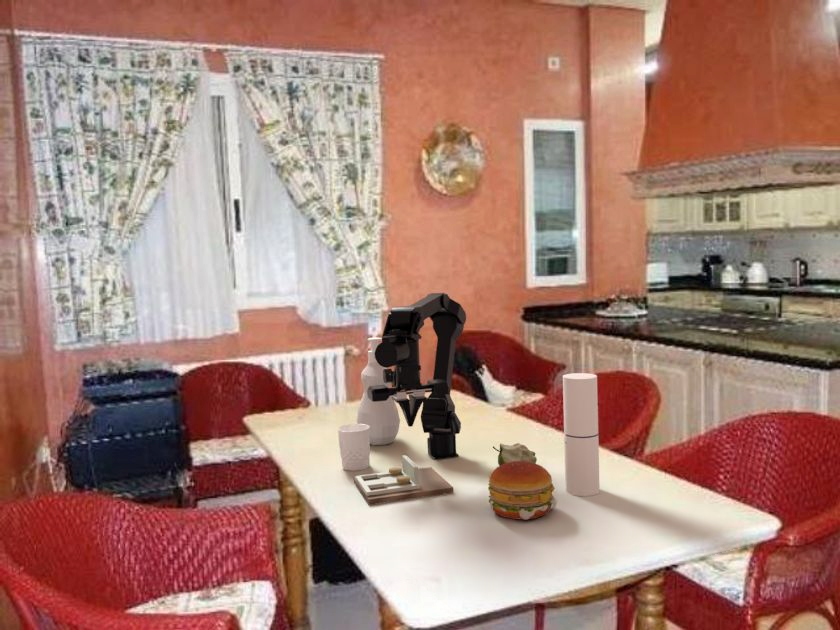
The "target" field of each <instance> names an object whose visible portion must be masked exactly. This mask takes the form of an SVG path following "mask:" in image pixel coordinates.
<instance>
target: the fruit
mask: <svg viewBox="0 0 840 630" xmlns="http://www.w3.org/2000/svg"><path fill="white" fill-rule="evenodd" d="M492 449H494V450H496V451H497V452H499V453H498V455H497V464H498V467H499V466H501V465H503V464H505V463H508V462H513V461H527V462H532V463H535V464H537V461H538V459H537V457H536V452H535V451H532V450H530V449H529V448H528V447H527V446H526V445H524V444H520V442H517V443H513V444H511V445H509V444H504V443H500V444H499V449H498V448H496V447H495V446H492Z"/></svg>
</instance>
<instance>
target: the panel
mask: <svg viewBox="0 0 840 630" xmlns="http://www.w3.org/2000/svg"><path fill="white" fill-rule="evenodd" d="M401 463H402V467H401V468H402V472H401V473H399V475H398V476H393V475H392V474H391V473H389V471H385V472H378V473H377V472H375V473H371V474H362V475H361V474H360V475H355V478H356V481H357V482H358V484H359V485H360V487H361V488H362V490H363V491H364V493H365V494H366V495H367V496H370V495H377V494H384V493H391V492H398V491H405V490H413V489H420V484H419V471H418V469H419V466H418V465H417V464H416V463H415V462H414V461H413V460H412V459H411V458H409V456H407V454H406V455H401ZM399 476H409V477H410V481H409V482H407V485H400V483H399V482H397V477H399ZM370 478H380V479H377V480H369V481H364V480H363V479H370ZM378 487H385V488H387V489H380V490H373V491H371V490H370V489H371V488H378Z"/></svg>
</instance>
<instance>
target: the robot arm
mask: <svg viewBox="0 0 840 630" xmlns="http://www.w3.org/2000/svg"><path fill="white" fill-rule="evenodd" d="M428 318H429V320H431V322H432V329H433V331H434V333H435V335H436V337H437V342H436V349H435V359H434V366H433V367H434V369H433V375H432V376H433V377H432V379H428V380H427V382H426V384H424V383H422V382H421V371H422V365H421V364H420V344H419V342H420V341H419V340H421V339H422V335H421V334H420V330H421V328H423V327H424V326H425V320H426V319H428ZM466 321H467V314H466V311H465V310H464V308H463V306H462V304H460V303H459V302H458V301H455V300H454V299H452V298H451V297H450V296H449V294H448V293H446V292H431V293H429V294H427V295H426V296H425V297H423V298H421V299H420V300H418V301H415V302H413V303H412V304H411V305H404V306H402V305H401V306H394V307H392V308H391V309H390V310H389V313H388V314H387V319H386V322H385V325H384V329H383V333H382V335H381V336H382V337H381V338H382V340H381V342H380V343H379V345H378V346H377V348H376V350H375V359H376V361H377V362H378V364H379V365H381V366H382V367H385V368H387V369H384V370H383V380H384V383H390V386H391V387H390V388H388V387H386V386H385V385H375V386H369V388H368V390H367V394H368V398H369V399H370V400H371V401H372V402H378V401H386V400H387V399H388V398H389V396H392V400H394V402H395V403H397V404H398V405H399V407H400V409H401V411H402V413H403V416H404V419H405V421H406V424H407V426H408V428H409V427H410V428H411V427H413V426H414V423H415V420H416V418H417V416H418V413H419V410H420V408H421V406H422V408H421V409H422V410H421V414H420V422H421V426H422V430H423V433H424V434H428V437H427V439H426V440H427V442H426V443H427V454H428V455H429V456H430V457H432V458H433V460H441V459H442V460H443V459H449V458H456V457H457V458H458V457H459V453H457V441H456V439H457V436H456V435H457V434H458V435H459V434H460V432H461V429H462V423H461V421H460V418H459V417H458V416H457V413H456V406H455V403H454V401H453V399H452V397H451V390H452V382H453V381H452V379H453V371H454V360H455V352H456V344H457V343H456V342H457V340H458V339H459V338H460V336H461V335H462V334H463V332H464V328H465V327H464V326H465V324H466ZM392 367H393V368H394V369H393V370H392ZM426 393H430V394H429V395H428V397H427V396H426ZM407 395H408V397H407Z"/></svg>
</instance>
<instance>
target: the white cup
mask: <svg viewBox="0 0 840 630" xmlns="http://www.w3.org/2000/svg"><path fill="white" fill-rule="evenodd" d="M337 433H338V441H339V450H340V451H339V452H340V458H341V466H342V469H343V470H345V471H351V472H352V471H353V472H355V471H362V470H366V469H367V468H369V467H370V454H371V451H370V449H371V444H370V426H368V425H365V424H358V423H352V424H351V423H349V424H345V425H341V426H339V427H338V429H337Z"/></svg>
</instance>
